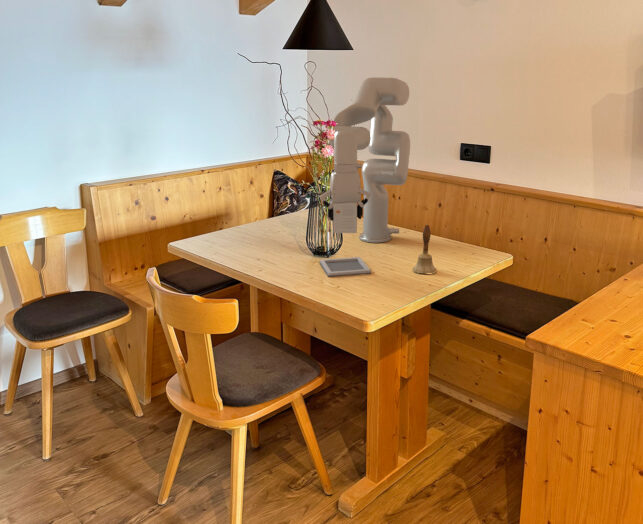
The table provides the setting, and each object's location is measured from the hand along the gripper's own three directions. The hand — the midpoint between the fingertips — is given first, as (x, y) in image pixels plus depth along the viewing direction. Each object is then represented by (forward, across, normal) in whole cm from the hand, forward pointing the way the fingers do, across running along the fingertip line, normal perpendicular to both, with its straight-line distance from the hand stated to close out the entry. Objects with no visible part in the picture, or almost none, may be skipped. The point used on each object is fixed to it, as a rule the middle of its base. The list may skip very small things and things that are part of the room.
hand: (345, 218), depth 216 cm
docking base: (+18, 0, 0) cm, 18 cm away
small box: (+5, 0, 0) cm, 5 cm away
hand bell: (+18, -26, +8) cm, 32 cm away
